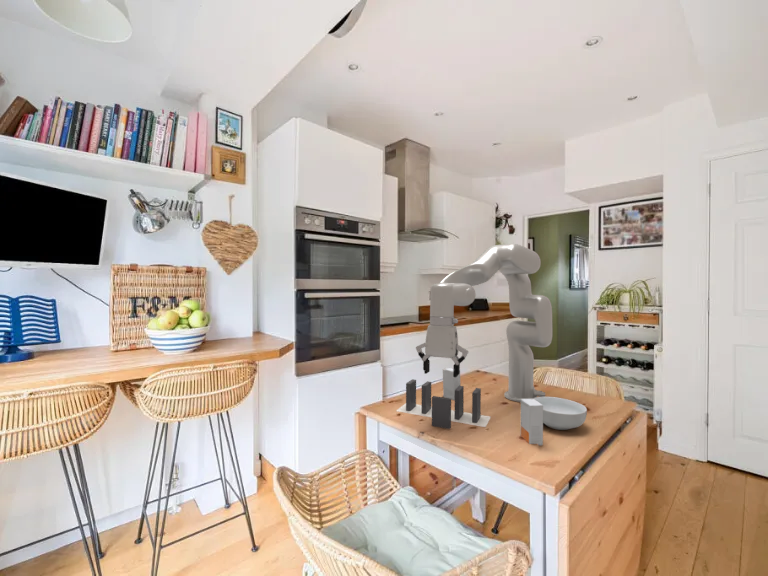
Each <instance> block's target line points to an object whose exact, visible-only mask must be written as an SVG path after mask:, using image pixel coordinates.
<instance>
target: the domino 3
mask: <svg viewBox="0 0 768 576" xmlns="http://www.w3.org/2000/svg"><path fill="white" fill-rule="evenodd" d="M431 407H432V418H431V426H432V427H437V428H440V429H441V428H442V429H445V430H450V429H451V428H452V421H451V410H452V400H451V398H446V397H443V396H438V395H437V396H436V395H433V396H431Z"/></svg>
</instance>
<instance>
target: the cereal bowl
mask: <svg viewBox="0 0 768 576" xmlns="http://www.w3.org/2000/svg"><path fill="white" fill-rule="evenodd" d="M534 400H536V401H538V402H539V403H540V404H542V405H543V425H545V426H547V427H548V428H550V429H553V430H554V429H555V430H559V431H565V430H570V429H575V428H576V429H577V428H579V427H580V426H583V424H584V423H585V421H586V419H587V415H588V414H587V413H588V409H587V407H586V406H585V405H584V404H582V403H579V402H578V401H577V402H576V401H574V400H570V399H567V398H563V397H556V396H555V397H554V396H545V397H540V396H537V398H534Z"/></svg>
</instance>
